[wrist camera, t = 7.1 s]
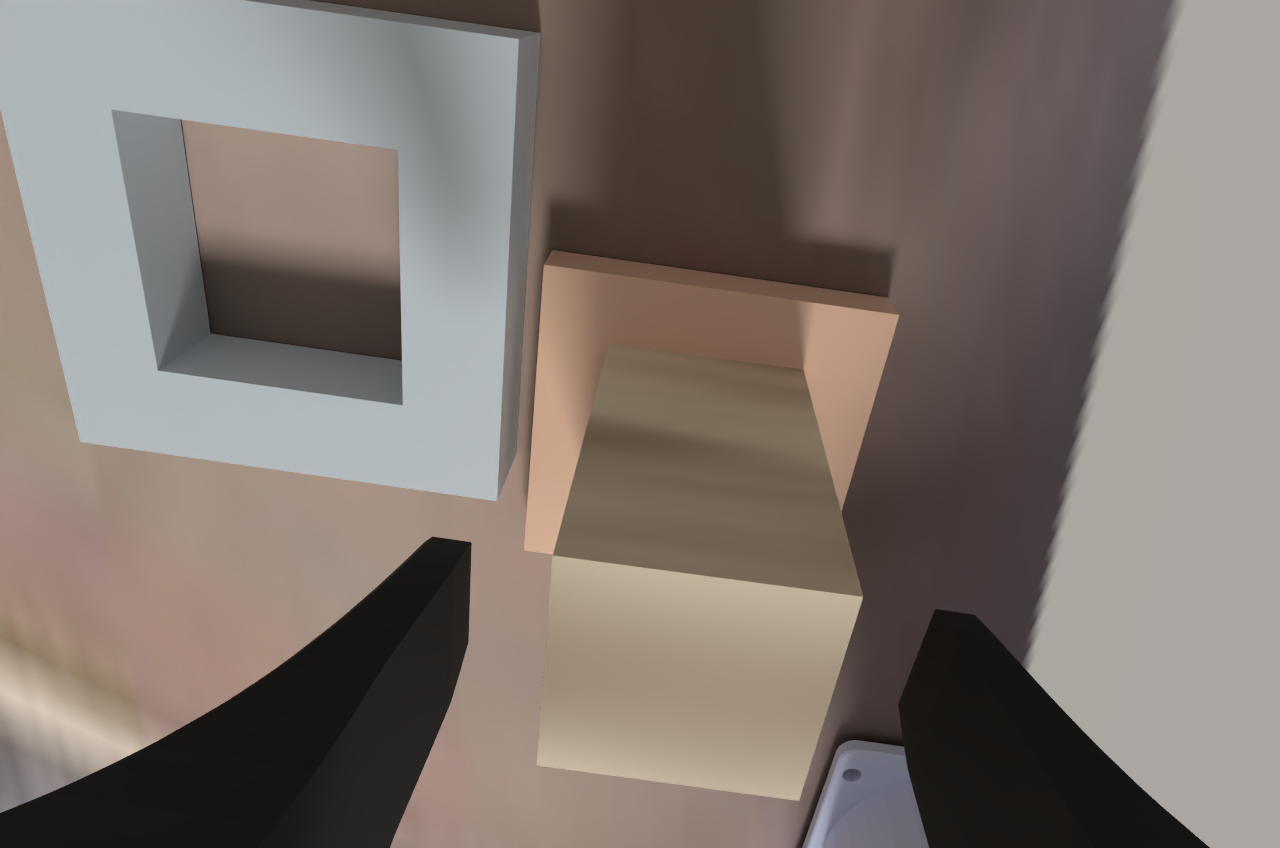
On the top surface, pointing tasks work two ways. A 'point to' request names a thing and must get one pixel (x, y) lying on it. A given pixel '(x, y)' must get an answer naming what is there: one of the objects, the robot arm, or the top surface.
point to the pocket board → (168, 248)
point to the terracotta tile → (695, 325)
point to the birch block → (697, 580)
